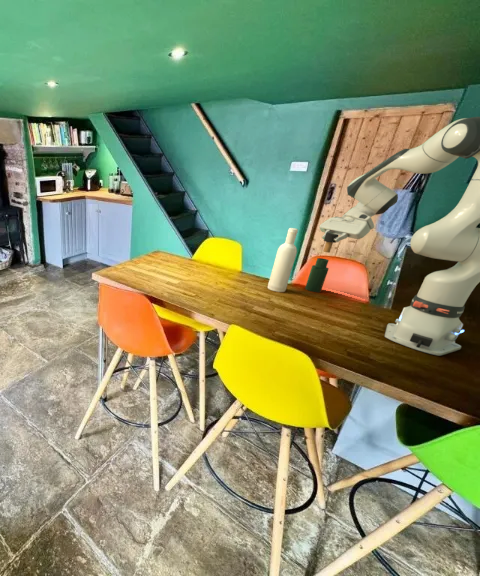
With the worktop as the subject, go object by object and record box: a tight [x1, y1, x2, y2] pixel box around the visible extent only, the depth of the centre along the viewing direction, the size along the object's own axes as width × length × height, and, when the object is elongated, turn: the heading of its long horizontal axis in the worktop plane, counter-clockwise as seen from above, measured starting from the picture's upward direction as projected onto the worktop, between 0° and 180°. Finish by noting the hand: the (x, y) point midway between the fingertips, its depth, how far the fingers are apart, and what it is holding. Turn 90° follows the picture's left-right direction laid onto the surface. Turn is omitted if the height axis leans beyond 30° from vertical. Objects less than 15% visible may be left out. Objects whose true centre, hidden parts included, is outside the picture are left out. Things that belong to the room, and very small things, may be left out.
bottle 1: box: [267, 227, 299, 293], centre depth 143 cm, size 8×8×30 cm
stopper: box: [322, 233, 339, 253], centre depth 142 cm, size 5×5×8 cm
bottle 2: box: [304, 257, 329, 293], centre depth 148 cm, size 7×7×16 cm
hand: (329, 239), depth 141 cm, fingers closed on stopper, 5 cm apart
